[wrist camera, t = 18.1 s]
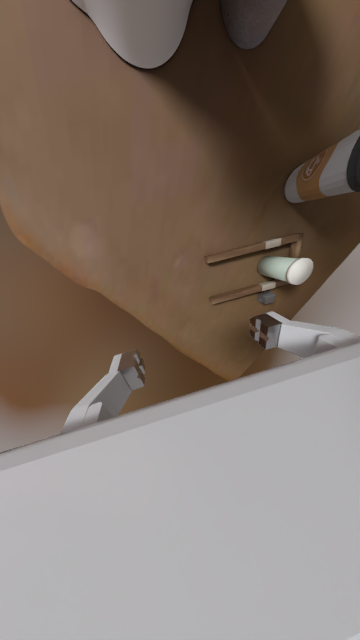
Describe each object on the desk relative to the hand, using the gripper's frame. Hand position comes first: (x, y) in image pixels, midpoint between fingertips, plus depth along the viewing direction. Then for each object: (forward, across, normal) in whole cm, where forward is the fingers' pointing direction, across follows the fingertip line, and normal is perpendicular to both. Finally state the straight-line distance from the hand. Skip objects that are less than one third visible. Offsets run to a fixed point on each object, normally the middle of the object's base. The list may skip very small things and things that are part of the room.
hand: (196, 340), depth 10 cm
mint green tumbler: (+29, -28, +5) cm, 41 cm away
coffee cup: (+29, -34, -11) cm, 46 cm away
